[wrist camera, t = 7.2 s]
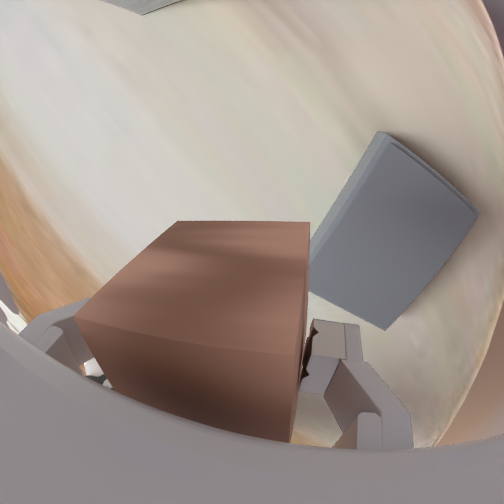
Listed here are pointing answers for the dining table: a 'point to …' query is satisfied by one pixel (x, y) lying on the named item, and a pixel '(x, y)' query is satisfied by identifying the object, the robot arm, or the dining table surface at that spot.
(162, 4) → the supplement box
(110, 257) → the dining table surface
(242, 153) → the dining table surface
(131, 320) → the terracotta block
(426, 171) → the plinth
